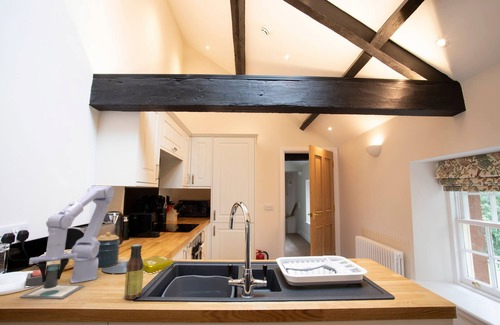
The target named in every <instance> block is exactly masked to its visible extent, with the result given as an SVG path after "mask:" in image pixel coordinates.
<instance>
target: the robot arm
mask: <svg viewBox="0 0 500 325" xmlns="http://www.w3.org/2000/svg"><path fill="white" fill-rule="evenodd" d="M114 190H115V189H114V187H113V186H112V185H96V184H95V185H91V186H90V187H88V189H87V192H86V193H84V195H83V196H82V197H81V198H80V199H79V200H77V201H76V202H70V203H68V205H67V206H66V207H65V208H63V209H62V210H60V211H59V212H58V213H55V214H51V215H50V216H49V218H48V219H47V221H46V223H45V224H46V227H47V233H48V237H47V245H46V252H45V255H42V256H41V255H40V256H35V257H30V258H29V261H28V262H29V263H28V264H29V265H33V264H37V267H38V268H39V269H40V271H41V274H42V282H45V272H46V268H47V266H48V264H47V263H48V262H58V261H59V262H60V263H59V264H60V267H59V274H58V281H59V280H61V277H62V274H63V272H64V271H65V268H66V266H68V263H69V261H70V260H73V261H74V262H73V268H72V269H73V270H72V276H70V277H69V280H70V284H78V283H83V282H88V281H93V280H97V279H98V278H97V277H98V271H99V268H98V258H95V257H96V256H97V254H98V252H99V245H100V242H99V241H98V240H97V239H96V238H98V235H99V233H100V230H101V227H102V226H103V222H104V220H105V218H106V215H107V212H108V209H109V207H110V204H111V203H112V201H113V198H114V195H115V191H114ZM91 202H93V203H94V204H95V205H96V206H95V208H94V210H93V214H92V215H91V219H90V220H89V223H88V226H87V227H86V230H85V232H84V235H83V237H80V238H79V239H77V240H76V241H75V244H74V245H73V246H72V247H71V251H70V253H69V252H68V253H65V249H66V243H67V235H68V230H69V228H70V227H71V226H72V224H73V222H74V221H75V218H77V217H78V216H79V215H80V214H81V213H82V212H84V208H85V206H87V205H88V204H89V203H91ZM39 269H38V270H39Z"/></svg>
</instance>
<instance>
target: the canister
mask: <svg viewBox="0 0 500 325" xmlns="http://www.w3.org/2000/svg"><path fill="white" fill-rule="evenodd" d="M96 239H97V240H98V241H99V242H100V245H99V252H98V254H97V256H96V257H95V258H98V269H99V268H107V267H106V266H109V267H111V266H110V265H113V264H115V265H117V264H118V263H117V262H119V255H120V243H121V240H119V239H120V237H119V236H118V235H117V234H112V233H111V232H110V231H107V232H105V234H104V235H103V234H101V235H100V236H97V238H96ZM116 263H117V264H116ZM113 266H114V265H113Z"/></svg>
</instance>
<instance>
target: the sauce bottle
mask: <svg viewBox="0 0 500 325" xmlns="http://www.w3.org/2000/svg"><path fill="white" fill-rule="evenodd" d="M142 248H143V245H142V244H140V243H137V244H135V243H134V244H132V245H131V246H130V256H129V257H130V258H128V260H127V263H126V269H125V270H126V271H125V282H124V292H123V293H124V298H125V299H126V298H127V299H126V300H128V299H132V300H134V299H133V298H135V297H137V296H140V295H141V296H142V292H143V279H144V273H143V266H144V265H143V261H142V259H143V258H142ZM141 296H140V297H141Z"/></svg>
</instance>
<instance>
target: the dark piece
mask: <svg viewBox="0 0 500 325" xmlns="http://www.w3.org/2000/svg"><path fill="white" fill-rule="evenodd" d="M59 269H60V263H51V264H47V265H46V275H45V282H44V285H43V286H44V289H49V288H54V287H56V286H57V284H58V281H59V280H58V274H59Z"/></svg>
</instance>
